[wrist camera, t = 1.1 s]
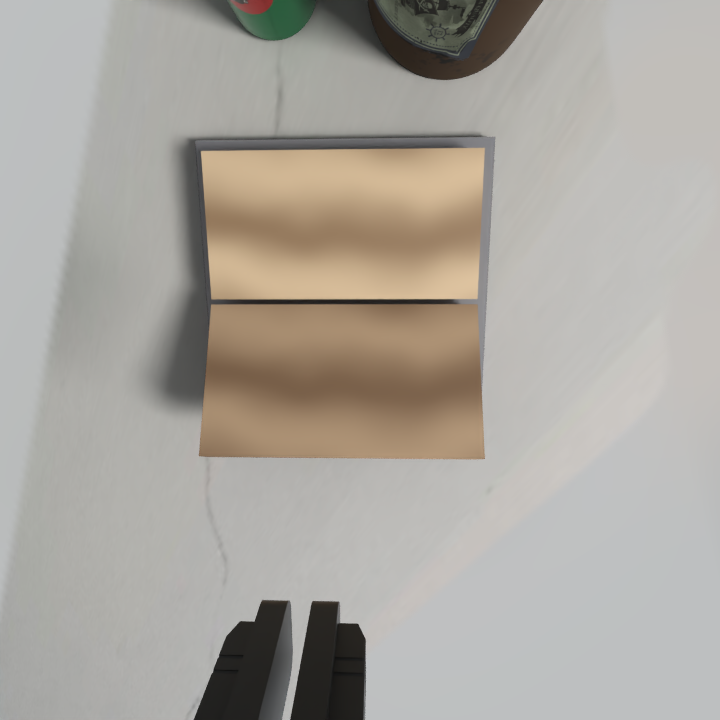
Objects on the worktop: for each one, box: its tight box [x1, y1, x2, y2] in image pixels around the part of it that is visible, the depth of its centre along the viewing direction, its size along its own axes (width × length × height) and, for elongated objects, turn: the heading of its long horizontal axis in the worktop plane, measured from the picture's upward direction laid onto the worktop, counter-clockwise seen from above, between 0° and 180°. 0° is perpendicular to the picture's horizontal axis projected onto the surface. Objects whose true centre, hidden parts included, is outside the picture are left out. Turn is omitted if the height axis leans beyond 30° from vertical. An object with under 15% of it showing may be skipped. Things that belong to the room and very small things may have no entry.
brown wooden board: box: [199, 304, 485, 459], centre depth 29 cm, size 9×16×2 cm, turn 90°
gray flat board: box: [195, 137, 495, 389], centre depth 31 cm, size 20×18×1 cm
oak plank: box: [201, 148, 485, 299], centre depth 29 cm, size 8×16×2 cm, turn 90°
